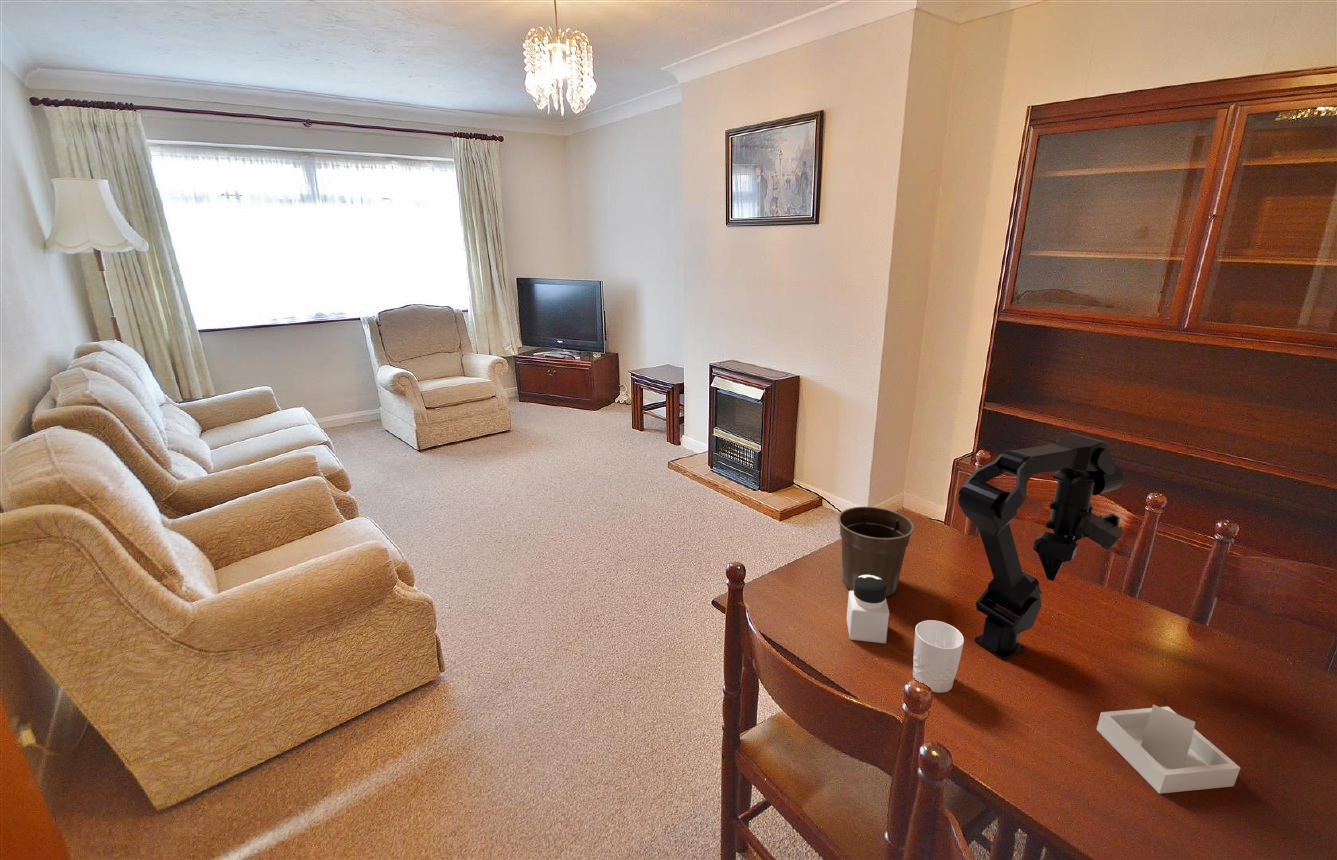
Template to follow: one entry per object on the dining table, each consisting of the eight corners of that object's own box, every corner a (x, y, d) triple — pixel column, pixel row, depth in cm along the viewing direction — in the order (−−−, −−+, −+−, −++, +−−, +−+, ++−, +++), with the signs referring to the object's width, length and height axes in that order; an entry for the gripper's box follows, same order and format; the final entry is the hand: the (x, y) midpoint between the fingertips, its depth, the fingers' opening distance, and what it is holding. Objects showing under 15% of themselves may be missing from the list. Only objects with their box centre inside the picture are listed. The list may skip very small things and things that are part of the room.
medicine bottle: (886, 644, 116) (892, 592, 112) (849, 640, 117) (854, 588, 113) (881, 622, 122) (887, 572, 118) (846, 618, 124) (850, 569, 120)
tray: (1233, 786, 85) (1240, 767, 84) (1159, 793, 84) (1165, 775, 83) (1162, 723, 96) (1168, 706, 95) (1096, 729, 95) (1100, 712, 94)
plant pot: (847, 558, 147) (852, 499, 142) (914, 577, 138) (922, 516, 133) (822, 588, 134) (827, 526, 129) (894, 612, 125) (902, 546, 120)
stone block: (1181, 773, 86) (1191, 741, 84) (1138, 753, 90) (1148, 722, 88) (1185, 753, 90) (1195, 722, 88) (1144, 734, 93) (1153, 704, 91)
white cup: (953, 670, 108) (961, 624, 105) (959, 700, 101) (966, 652, 98) (908, 661, 111) (914, 616, 108) (910, 690, 104) (916, 643, 101)
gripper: (1114, 530, 99) (1095, 608, 104) (1133, 496, 112) (1115, 567, 117) (1040, 510, 107) (1025, 584, 112) (1065, 480, 119) (1051, 548, 124)
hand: (1056, 570), depth 116 cm, fingers open, 9 cm apart
